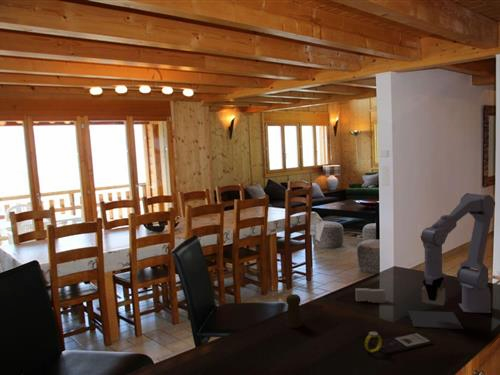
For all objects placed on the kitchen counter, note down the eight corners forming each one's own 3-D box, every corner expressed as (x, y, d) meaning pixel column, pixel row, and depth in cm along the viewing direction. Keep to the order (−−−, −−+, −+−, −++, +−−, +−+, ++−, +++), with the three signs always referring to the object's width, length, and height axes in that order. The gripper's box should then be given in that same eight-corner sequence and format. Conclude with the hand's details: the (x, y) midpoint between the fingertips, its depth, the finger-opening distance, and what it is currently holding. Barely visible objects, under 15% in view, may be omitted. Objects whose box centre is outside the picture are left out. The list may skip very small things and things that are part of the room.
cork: (304, 322, 162) (303, 293, 160) (299, 328, 156) (298, 299, 155) (289, 320, 164) (288, 291, 163) (283, 326, 159) (282, 297, 158)
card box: (424, 298, 160) (424, 285, 159) (445, 301, 156) (445, 288, 155) (422, 302, 157) (421, 288, 156) (442, 305, 153) (442, 291, 152)
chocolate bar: (368, 341, 142) (414, 331, 148) (368, 344, 142) (414, 334, 148) (385, 353, 134) (433, 342, 139) (385, 356, 134) (433, 345, 139)
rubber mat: (453, 313, 162) (453, 312, 162) (463, 329, 149) (463, 327, 149) (408, 312, 166) (408, 310, 166) (414, 327, 152) (414, 326, 152)
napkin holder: (392, 301, 179) (392, 288, 178) (379, 310, 171) (378, 295, 170) (360, 294, 189) (360, 281, 189) (346, 301, 181) (345, 288, 181)
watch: (377, 348, 139) (378, 330, 139) (383, 351, 137) (384, 333, 136) (362, 351, 137) (363, 332, 136) (368, 354, 134) (369, 336, 134)
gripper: (441, 267, 147) (441, 306, 148) (449, 257, 158) (449, 293, 160) (419, 265, 151) (419, 303, 152) (428, 255, 162) (429, 290, 164)
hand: (433, 298), depth 156 cm, fingers closed on card box, 4 cm apart
